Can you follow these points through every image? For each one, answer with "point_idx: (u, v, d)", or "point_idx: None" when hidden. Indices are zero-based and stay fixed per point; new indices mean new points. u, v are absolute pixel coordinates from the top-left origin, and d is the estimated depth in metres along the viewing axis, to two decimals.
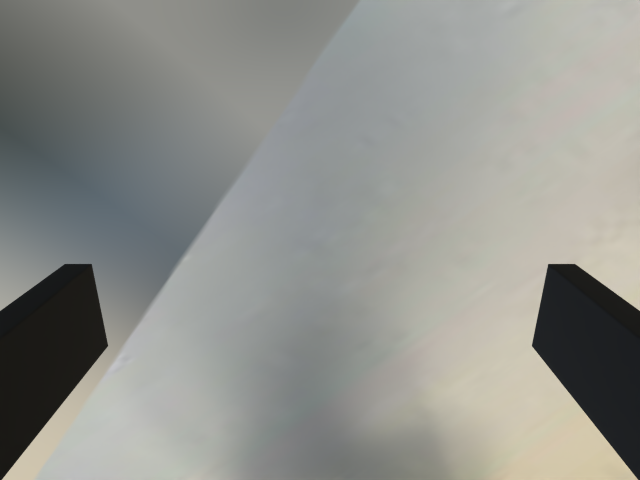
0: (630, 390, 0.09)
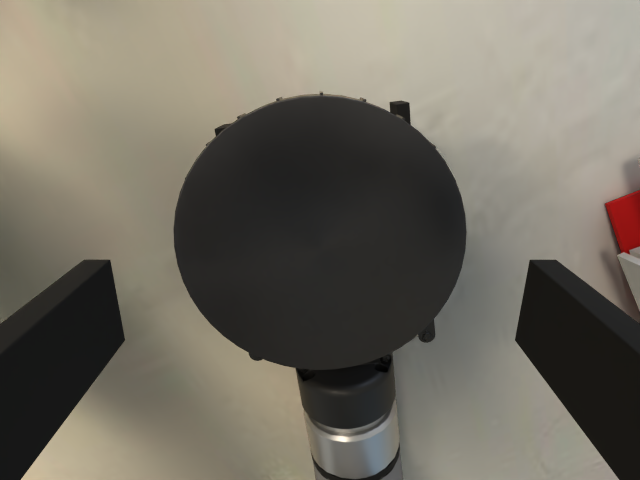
0: (602, 380, 0.09)
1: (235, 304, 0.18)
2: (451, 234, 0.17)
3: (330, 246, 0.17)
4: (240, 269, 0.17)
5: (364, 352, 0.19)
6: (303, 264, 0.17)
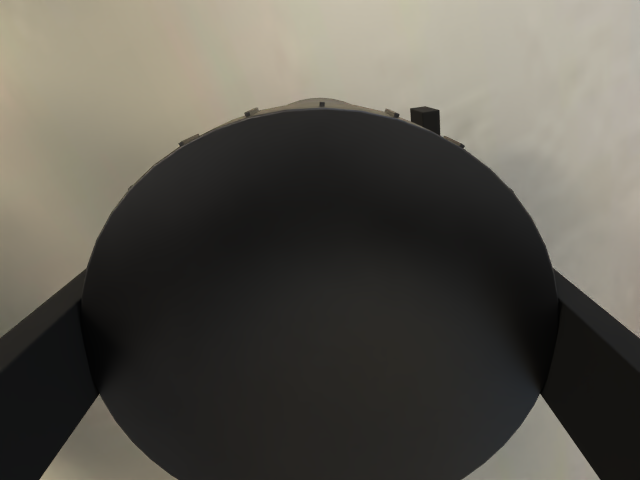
0: (577, 372, 0.10)
1: (187, 432, 0.11)
2: (533, 331, 0.10)
3: (336, 349, 0.10)
4: (192, 383, 0.11)
5: None
6: (293, 375, 0.11)
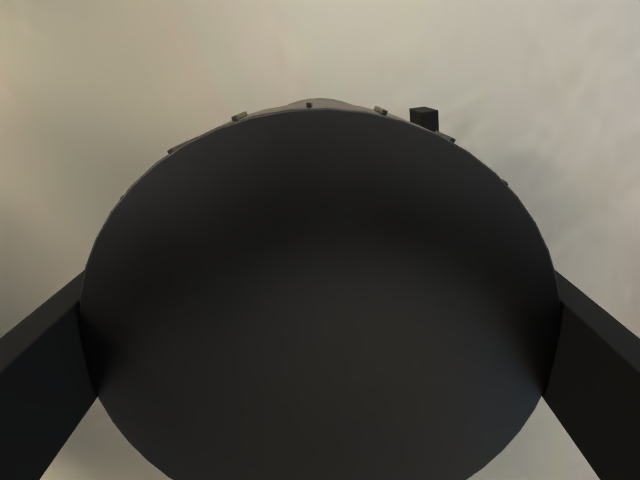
0: (577, 372, 0.10)
1: (426, 456, 0.11)
2: (260, 145, 0.09)
3: (313, 341, 0.10)
4: (366, 452, 0.11)
5: (525, 261, 0.10)
6: (349, 375, 0.11)
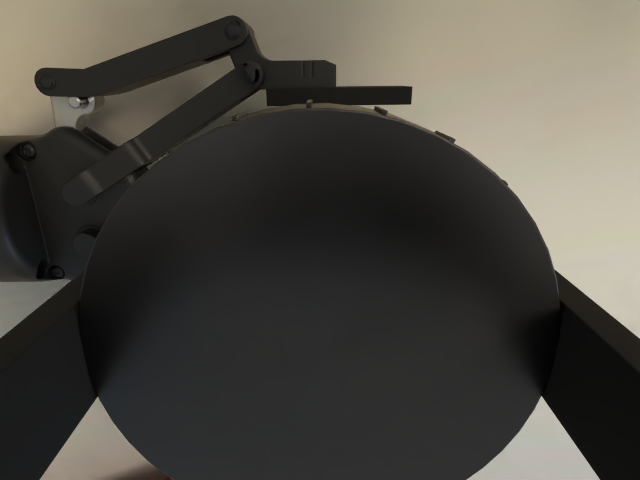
0: (577, 372, 0.10)
1: (426, 456, 0.11)
2: (260, 145, 0.09)
3: (313, 341, 0.10)
4: (366, 452, 0.11)
5: (525, 261, 0.10)
6: (349, 375, 0.11)
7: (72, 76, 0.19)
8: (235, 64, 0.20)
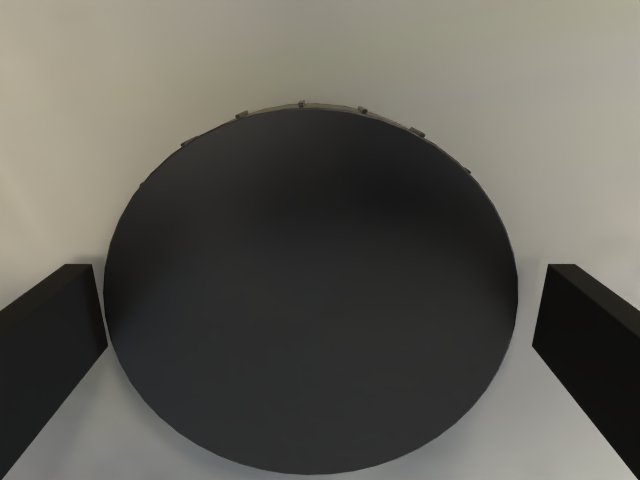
0: (629, 390, 0.09)
1: (405, 412, 0.13)
2: (260, 139, 0.10)
3: (305, 309, 0.12)
4: (353, 409, 0.13)
5: (486, 238, 0.11)
6: (337, 339, 0.12)
7: None
8: None
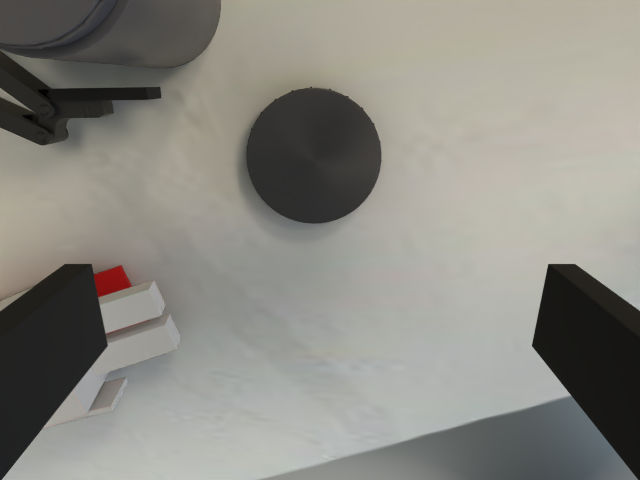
0: (630, 390, 0.09)
1: (346, 195, 0.38)
2: (299, 97, 0.35)
3: (312, 154, 0.36)
4: (328, 194, 0.38)
5: (368, 129, 0.36)
6: (322, 166, 0.37)
7: None
8: None
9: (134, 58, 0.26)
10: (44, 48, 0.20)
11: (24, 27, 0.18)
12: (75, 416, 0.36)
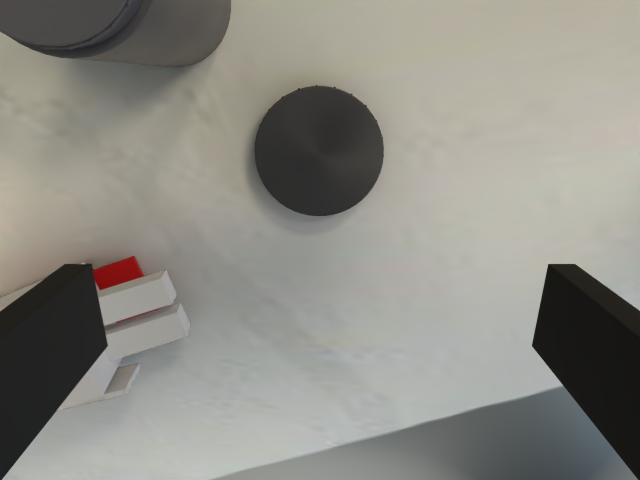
0: (630, 390, 0.09)
1: (350, 189, 0.39)
2: (305, 95, 0.37)
3: (317, 150, 0.38)
4: (332, 188, 0.39)
5: (371, 126, 0.37)
6: (327, 161, 0.39)
7: None
8: None
9: (151, 58, 0.28)
10: (72, 49, 0.22)
11: (56, 29, 0.20)
12: (91, 398, 0.37)
